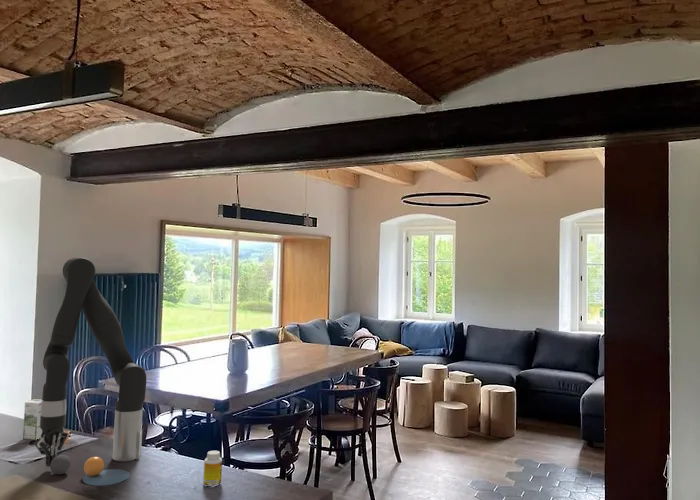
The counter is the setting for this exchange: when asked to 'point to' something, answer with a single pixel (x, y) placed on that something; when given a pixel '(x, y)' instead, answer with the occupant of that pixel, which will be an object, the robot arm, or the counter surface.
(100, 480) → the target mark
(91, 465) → the object ball
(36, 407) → the syrup box
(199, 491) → the counter surface
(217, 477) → the supplement bottle
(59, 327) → the robot arm
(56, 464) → the cue ball
